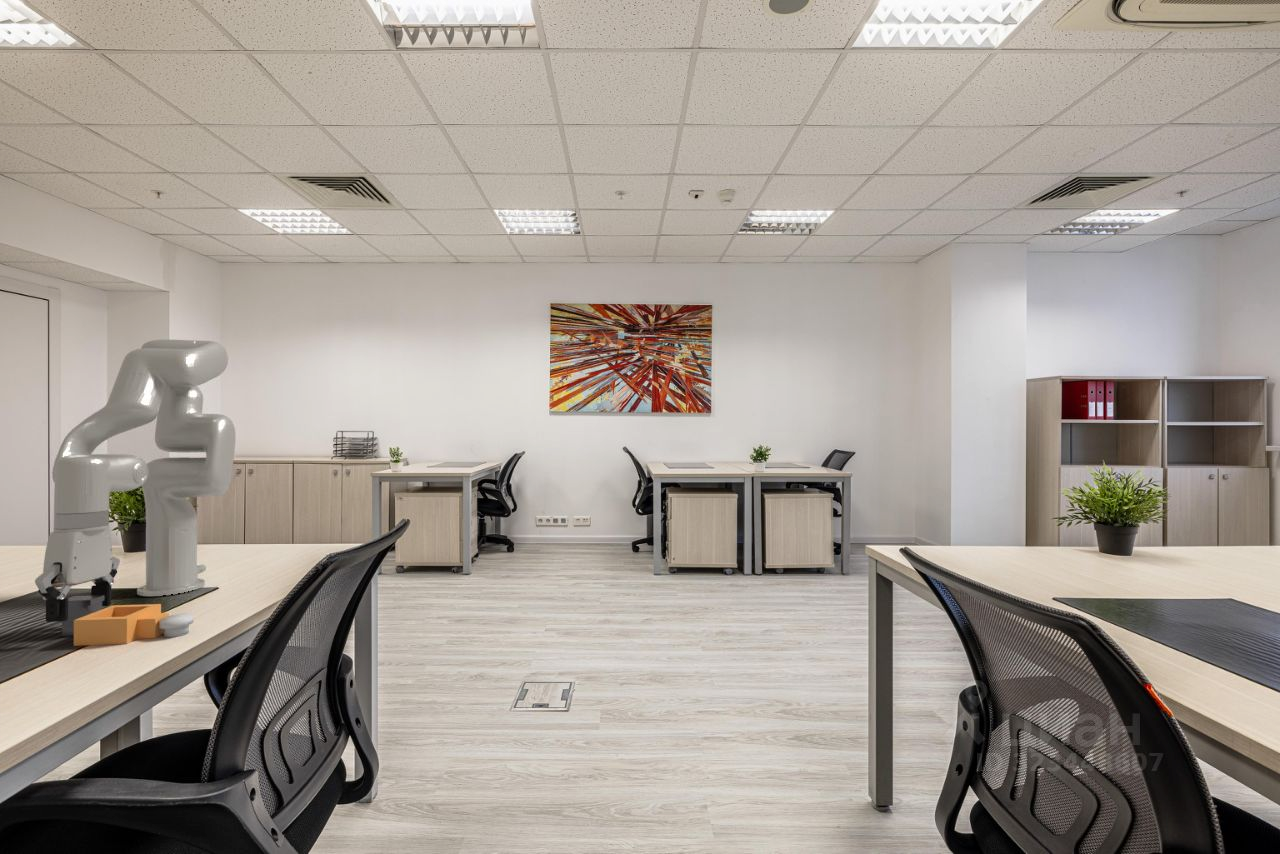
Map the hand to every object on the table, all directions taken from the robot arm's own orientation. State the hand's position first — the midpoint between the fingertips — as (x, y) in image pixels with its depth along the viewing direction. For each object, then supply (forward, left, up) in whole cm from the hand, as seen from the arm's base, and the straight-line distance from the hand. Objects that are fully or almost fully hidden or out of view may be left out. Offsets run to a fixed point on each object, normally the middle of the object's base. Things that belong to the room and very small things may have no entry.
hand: (79, 613), depth 108 cm
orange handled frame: (+2, +12, -4) cm, 13 cm away
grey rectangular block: (-1, 0, -4) cm, 4 cm away
